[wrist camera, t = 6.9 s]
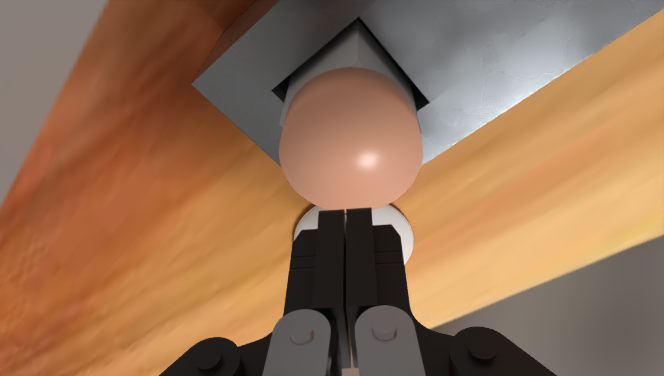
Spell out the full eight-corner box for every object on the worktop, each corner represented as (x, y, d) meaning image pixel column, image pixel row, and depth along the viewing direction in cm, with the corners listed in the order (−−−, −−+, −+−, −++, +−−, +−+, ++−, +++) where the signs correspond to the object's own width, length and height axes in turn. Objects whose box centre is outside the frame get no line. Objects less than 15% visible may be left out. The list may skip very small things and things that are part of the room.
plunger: (427, 84, 24) (451, 164, 18) (344, 144, 26) (342, 233, 20) (358, -2, 22) (360, 59, 16) (273, 72, 24) (248, 149, 18)
